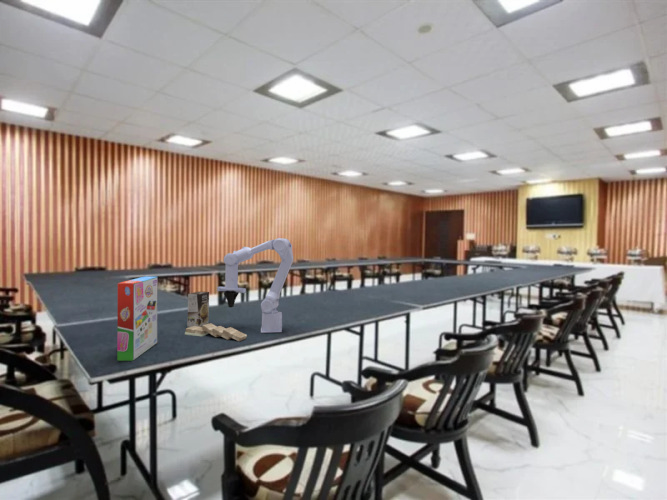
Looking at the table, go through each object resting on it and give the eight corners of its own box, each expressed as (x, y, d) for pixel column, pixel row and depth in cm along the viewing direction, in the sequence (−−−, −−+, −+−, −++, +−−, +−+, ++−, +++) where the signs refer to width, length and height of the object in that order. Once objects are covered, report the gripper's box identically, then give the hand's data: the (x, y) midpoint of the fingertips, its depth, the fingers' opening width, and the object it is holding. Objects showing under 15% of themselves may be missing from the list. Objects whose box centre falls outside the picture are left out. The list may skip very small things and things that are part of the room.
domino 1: (209, 328, 160) (194, 326, 164) (201, 330, 156) (185, 328, 159) (209, 331, 160) (194, 329, 164) (201, 334, 156) (185, 332, 159)
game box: (143, 343, 143) (144, 276, 142) (157, 343, 144) (158, 276, 143) (116, 361, 123) (117, 282, 122) (133, 361, 123) (133, 282, 122)
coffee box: (198, 327, 170) (199, 294, 170) (186, 326, 172) (187, 293, 171) (209, 323, 179) (209, 291, 179) (197, 322, 180) (198, 290, 180)
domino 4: (236, 333, 156) (220, 325, 159) (229, 336, 151) (212, 328, 154) (235, 337, 156) (219, 329, 159) (228, 340, 151) (211, 331, 154)
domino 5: (247, 335, 154) (230, 327, 157) (240, 338, 149) (223, 329, 152) (246, 338, 154) (229, 330, 157) (239, 341, 149) (222, 333, 152)
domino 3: (225, 331, 158) (211, 323, 162) (217, 334, 154) (202, 325, 158) (224, 335, 158) (210, 326, 162) (216, 337, 154) (201, 328, 158)
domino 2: (209, 331, 160) (192, 329, 163) (201, 334, 155) (184, 332, 158) (209, 335, 160) (192, 333, 163) (201, 338, 155) (184, 336, 158)
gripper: (249, 278, 171) (248, 306, 171) (223, 276, 175) (223, 304, 176) (241, 280, 164) (240, 309, 165) (214, 278, 169) (214, 306, 169)
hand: (231, 307), depth 170 cm, fingers closed
